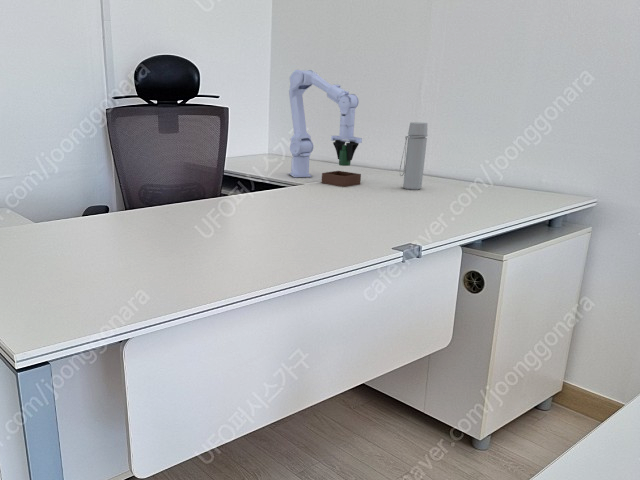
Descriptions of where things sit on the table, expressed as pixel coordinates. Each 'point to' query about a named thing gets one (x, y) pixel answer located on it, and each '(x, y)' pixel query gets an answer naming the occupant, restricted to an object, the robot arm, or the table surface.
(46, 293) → the table surface
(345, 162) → the green bottle
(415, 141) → the water bottle
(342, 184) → the tray
